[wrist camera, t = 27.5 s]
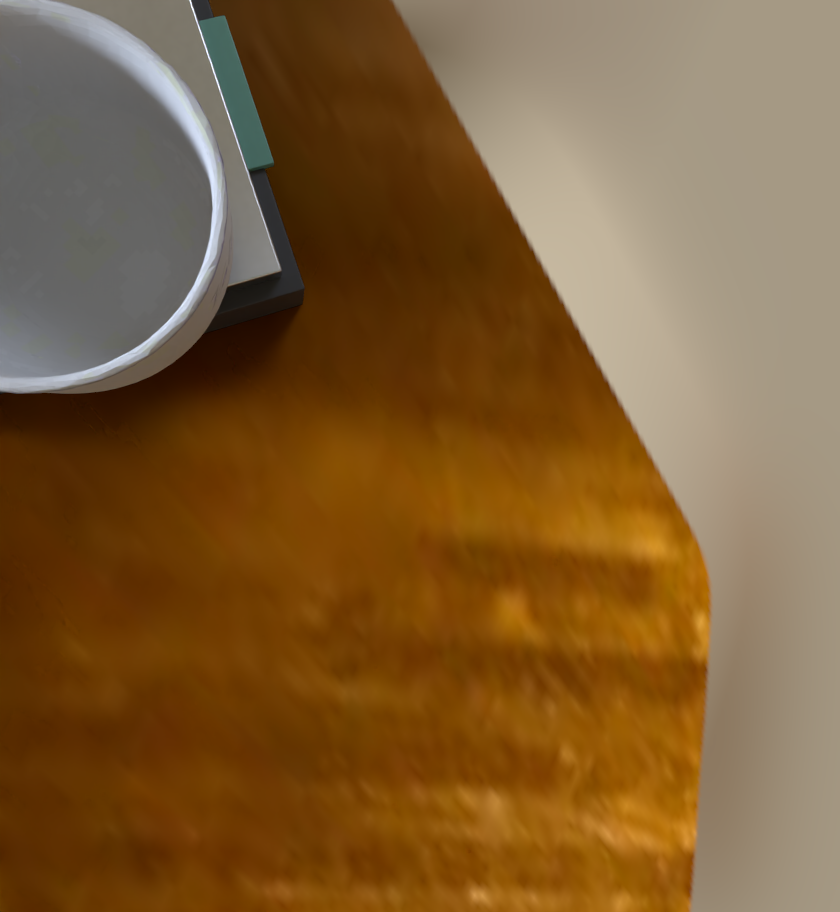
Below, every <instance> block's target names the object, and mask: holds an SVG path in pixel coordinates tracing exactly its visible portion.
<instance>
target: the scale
mask: <svg viewBox="0 0 840 912" xmlns="http://www.w3.org/2000/svg"><path fill="white" fill-rule="evenodd" d="M51 1H56V2H61V3H65V4H68V5H71V6H74V7H77V8H80V9H83V10H86V11H89V12H92V13H95V14H97V15H100V16H103V17H105V18H106V19H108V20H110V21H112V22H114V23H115V24H117V25H119V26H121V27H123V28H124V29H126V30H127V31H129V32H131V33H132V34H133V35H134V36H136V37H137V38H138V39H140V40H142V41H144V42H145V43H146V44H147V45H148V46H149V47H150V48H151V49H153V50H154V51H155V52H156V53H157V54H158V55H159V56H160V57H161V58H162V59H163V60H164V61H165V62H166V63H167V64H169V65H171V66H172V67H173V68H174V70H175V71H176V72H177V74H178V75H179V76H180V77H181V78H182V79H183V80H184V81H185V82H186V83H187V85H188V87H189V88H190V90H191V91H192V93H193V94H194V96H195V97H196V99H197V100H198V102H199V103H200V105H201V107H202V109H203V111H204V113H205V116H206V117H207V118H208V119H209V121H210V124H211V126H212V129H213V132H214V134H215V137H216V140H217V143H218V146H219V149H220V152H221V155H222V158H223V162H224V168H225V175H226V182H227V188H228V198H229V203H230V209H231V215H232V222H233V238H234V241H233V261H232V268H231V273H230V278H229V282H228V285H227V289H226V292H225V295H224V297H223V300H222V302H221V304H220V307H219V309H218V311H217V313H216V314H215V316H214V318H213V319H212V321H211V323H210V324H209V326H208V328H207V329H206V331H205V332H204V333H208V332H211V331H214V330H218V329H221V328H224V327H228V326H231V325H235V324H238V323H241V322H245V321H248V320H251V319H255V318H258V317H261V316H265V315H268V314H272V313H275V312H278V311H282V310H285V309H288V308H292V307H295V306H298V305H302V304H303V297H304V289H305V287H304V284H303V281H302V278H301V275H300V272H299V269H298V266H297V263H296V260H295V257H294V254H293V251H292V248H291V246H290V243H289V240H288V237H287V234H286V231H285V228H284V225H283V222H282V219H281V216H280V213H279V210H278V207H277V204H276V201H275V198H274V195H273V192H272V189H271V186H270V183H269V180H268V177H267V174H266V171H265V169H266V168H269V167H273V166H274V161H273V158H272V155H271V152H270V149H269V146H268V143H267V140H266V137H265V134H264V131H263V128H262V125H261V122H260V119H259V116H258V113H257V110H256V107H255V104H254V101H253V98H252V95H251V92H250V89H249V86H248V83H247V80H246V77H245V74H244V71H243V68H242V65H241V62H240V59H239V56H238V53H237V50H236V47H235V44H234V41H233V38H232V35H231V32H230V29H229V26H228V23H227V20H226V17H225V16H224V15H223V16H219V17H214V16H213V13H212V10H211V7H210V4H209V1H208V0H51ZM204 333H203V334H204ZM2 393H6V392H0V394H2Z"/></svg>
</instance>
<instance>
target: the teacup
mask: <svg viewBox="0 0 840 912" xmlns="http://www.w3.org/2000/svg"><path fill="white" fill-rule="evenodd" d="M233 241H234V238H233V222H232V215H231V209H230V203H229V198H228V188H227V182H226V175H225V168H224V162H223V158H222V155H221V152H220V149H219V146H218V143H217V140H216V137H215V134H214V132H213V129H212V126H211V124H210V121H209V119H208V118H207V117H206V116H205V113H204V111H203V109H202V107H201V105H200V103H199V102H198V100H197V99H196V97H195V96H194V94H193V93H192V91H191V90H190V88H189V87H188V85H187V83H186V82H185V81H184V80H183V79H182V78H181V77H180V76H179V75H178V74H177V72H176V71H175V70H174V68H173V67H172V66H171V65H169V64H167V63H166V62H165V61H164V60H163V59H162V58H161V57H160V56H159V55H158V54H157V53H156V52H155V51H154V50H153V49H151V48H150V47H149V46H148V45H147V44H146V43H145V42H144V41H142V40H140V39H138V38H137V37H136V36H134V35H133V34H132V33H131V32H129V31H127V30H126V29H124V28H123V27H121V26H119V25H117V24H115V23H114V22H112V21H110V20H108V19H106V18H105V17H103V16H100V15H97V14H95V13H92V12H89V11H86V10H83V9H80V8H77V7H74V6H71V5H68V4H65V3H61V2H56V1H51V0H0V392H9V393H15V394H19V393H44V392H45V393H62V394H75V393H92V392H101V391H107V390H112V389H116V388H120V387H123V386H127V385H130V384H133V383H136V382H139V381H141V380H143V379H146V378H148V377H150V376H152V375H154V374H156V373H158V372H159V371H161V370H163V369H164V368H166V367H167V366H169V365H171V364H172V363H173V362H175V361H176V360H177V359H178V358H180V357H181V356H182V355H183V354H184V353H185V352H187V351H188V350H189V349H190V348H191V347H192V346H193V345H194V344H195V343H196V341H197V340H198V339H199V338H200V337H201V336H202V334H203V333H204V332H205V331H206V329H207V328H208V326H209V324H210V323H211V321H212V319H213V318H214V316H215V314H216V313H217V311H218V309H219V307H220V304H221V302H222V300H223V297H224V295H225V292H226V289H227V285H228V282H229V278H230V273H231V268H232V261H233Z"/></svg>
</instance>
